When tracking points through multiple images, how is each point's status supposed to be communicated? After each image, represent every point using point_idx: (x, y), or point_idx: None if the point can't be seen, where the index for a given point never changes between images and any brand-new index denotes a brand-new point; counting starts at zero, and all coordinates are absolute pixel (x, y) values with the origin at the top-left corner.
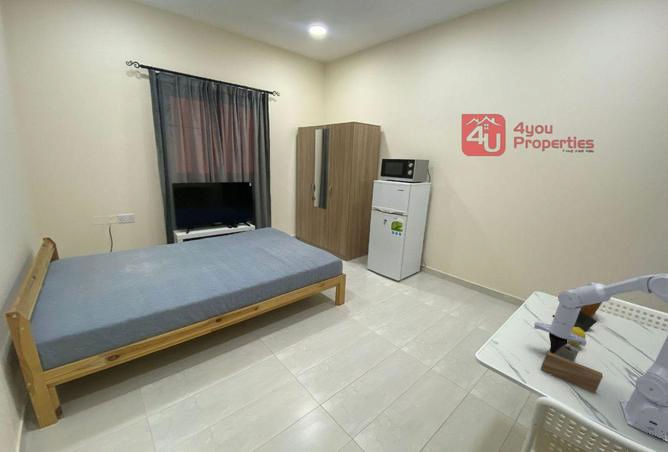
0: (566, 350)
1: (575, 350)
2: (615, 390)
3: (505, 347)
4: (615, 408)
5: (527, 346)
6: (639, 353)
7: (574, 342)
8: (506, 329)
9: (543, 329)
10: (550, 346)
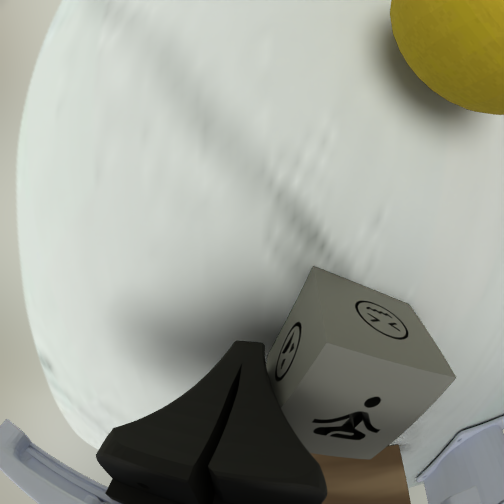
0: (322, 453)
1: (409, 414)
2: (482, 392)
3: (75, 380)
4: (421, 460)
5: (122, 329)
6: None
7: (462, 105)
8: (19, 218)
9: (70, 482)
10: (225, 356)
